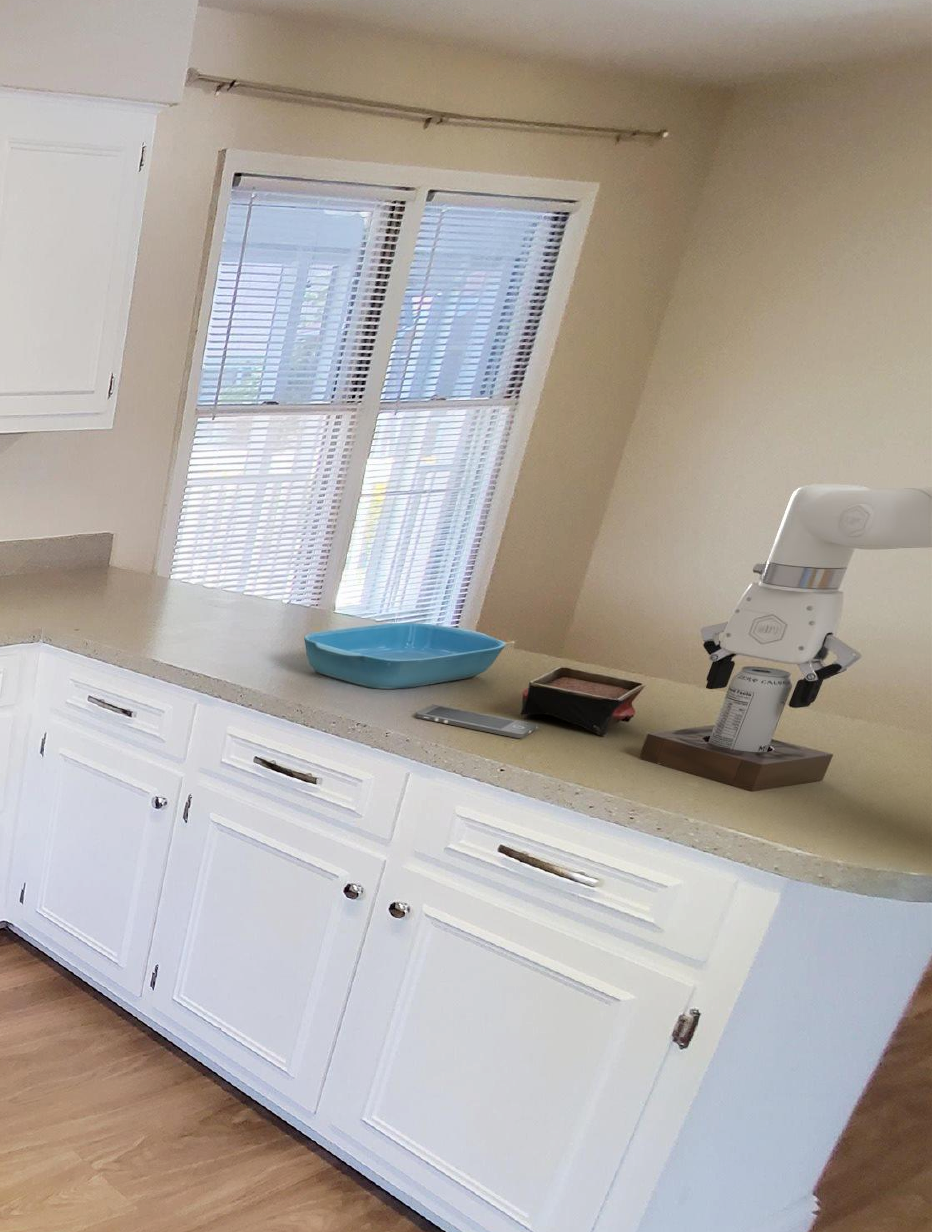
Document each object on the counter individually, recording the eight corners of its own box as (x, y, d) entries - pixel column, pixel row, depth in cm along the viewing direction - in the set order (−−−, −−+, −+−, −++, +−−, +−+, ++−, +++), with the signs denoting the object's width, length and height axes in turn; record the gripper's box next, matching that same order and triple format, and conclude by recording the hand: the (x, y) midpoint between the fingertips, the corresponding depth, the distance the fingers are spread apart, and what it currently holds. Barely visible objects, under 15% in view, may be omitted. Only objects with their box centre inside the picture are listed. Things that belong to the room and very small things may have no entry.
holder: (822, 780, 145) (833, 754, 144) (751, 791, 142) (762, 764, 140) (706, 749, 158) (715, 724, 156) (638, 758, 155) (647, 733, 153)
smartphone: (412, 716, 175) (413, 712, 174) (431, 707, 179) (432, 703, 179) (520, 738, 163) (522, 734, 163) (537, 728, 168) (539, 724, 167)
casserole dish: (377, 699, 185) (386, 660, 182) (273, 669, 205) (280, 634, 202) (522, 678, 195) (532, 641, 192) (409, 651, 215) (417, 618, 212)
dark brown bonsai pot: (644, 736, 169) (661, 676, 167) (605, 740, 160) (623, 677, 158) (537, 720, 181) (552, 664, 179) (495, 723, 172) (510, 664, 170)
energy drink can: (764, 779, 146) (804, 678, 140) (707, 772, 149) (744, 673, 143) (749, 766, 151) (787, 668, 145) (694, 759, 154) (730, 663, 148)
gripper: (706, 569, 147) (666, 683, 153) (866, 590, 131) (814, 717, 137) (744, 566, 148) (703, 679, 154) (906, 586, 133) (853, 712, 139)
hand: (755, 697), depth 146 cm, fingers open, 9 cm apart
